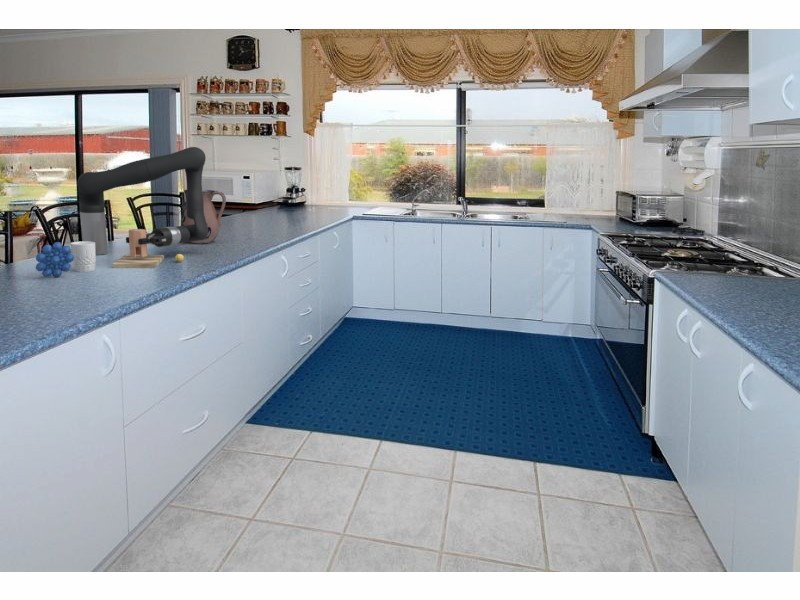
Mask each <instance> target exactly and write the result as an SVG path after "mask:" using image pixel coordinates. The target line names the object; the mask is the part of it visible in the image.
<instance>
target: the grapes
mask: <svg viewBox="0 0 800 600" xmlns="http://www.w3.org/2000/svg"><path fill="white" fill-rule="evenodd" d="M71 252H72V250H71V246H69V245H64V246H63V244H62V242H60V241H56V242H54V243H53V245H50V244H45V245H44V246H42V252H39V253H37V255H36V256H35V260H36V262H38V263H36V265H35V269H36V271H38V272H41V273H42V276H43V277H45V278H50V277H51V276H53V278H59V277H61V276H62V274H63V272H65V273H66V272H68V271H69V270H70V269H71V267H72V266H71V264H70V263H73V259H74V256H73V254H72V253H71Z"/></svg>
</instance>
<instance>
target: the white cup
mask: <svg viewBox="0 0 800 600" xmlns="http://www.w3.org/2000/svg"><path fill="white" fill-rule="evenodd" d="M70 248H71V254H73V256H74V259H73V261H72V263H73V267H74V271H75V272H77V273H79V272H80V273H89V272H94V271H96V262H97V261H96V259H97V258H96V256H97V255H96V251H95V242H90V241H74V242H73V241H72V242H70Z"/></svg>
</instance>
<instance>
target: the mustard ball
mask: <svg viewBox="0 0 800 600" xmlns="http://www.w3.org/2000/svg"><path fill="white" fill-rule="evenodd" d="M174 259H175V261H176V262H177V263H181V262H183V261H184V259H185V256H184V255H183V254H182V253H178V254H177V253H176V255H175V256H174Z"/></svg>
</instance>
